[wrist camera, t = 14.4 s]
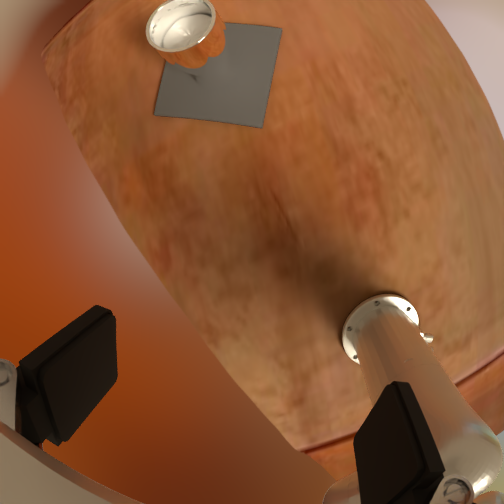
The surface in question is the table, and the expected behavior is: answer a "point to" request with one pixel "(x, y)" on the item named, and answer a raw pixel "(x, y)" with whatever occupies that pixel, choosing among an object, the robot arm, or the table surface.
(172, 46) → the beer glass
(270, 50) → the charcoal mat
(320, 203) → the table surface
